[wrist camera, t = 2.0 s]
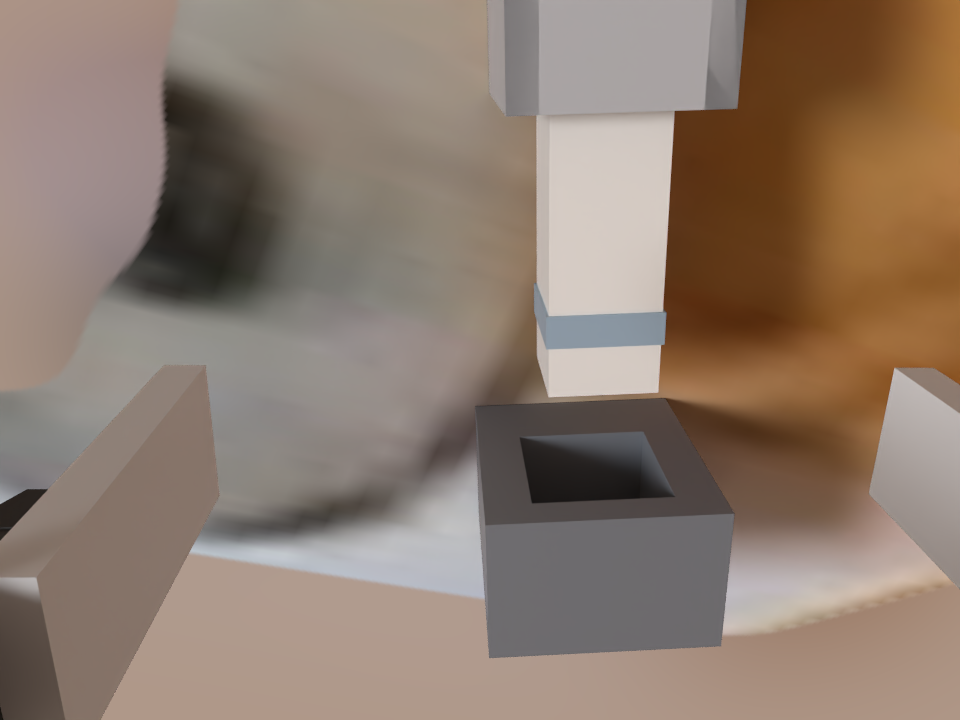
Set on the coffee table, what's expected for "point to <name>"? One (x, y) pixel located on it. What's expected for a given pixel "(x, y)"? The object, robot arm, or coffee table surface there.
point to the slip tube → (602, 250)
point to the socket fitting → (598, 530)
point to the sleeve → (614, 55)
